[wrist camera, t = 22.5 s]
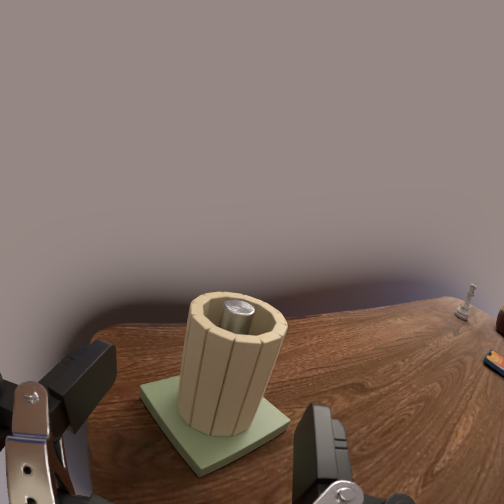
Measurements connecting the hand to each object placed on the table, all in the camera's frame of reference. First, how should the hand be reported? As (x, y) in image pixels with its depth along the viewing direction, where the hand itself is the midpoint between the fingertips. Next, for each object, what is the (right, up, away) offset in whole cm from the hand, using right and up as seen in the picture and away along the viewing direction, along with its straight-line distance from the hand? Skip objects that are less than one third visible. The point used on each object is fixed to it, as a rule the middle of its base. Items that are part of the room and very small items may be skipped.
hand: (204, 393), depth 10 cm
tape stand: (-2, -8, +11) cm, 14 cm away
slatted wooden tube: (-1, -7, +10) cm, 12 cm away
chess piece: (+57, -12, +49) cm, 76 cm away
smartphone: (+51, -18, +22) cm, 58 cm away
